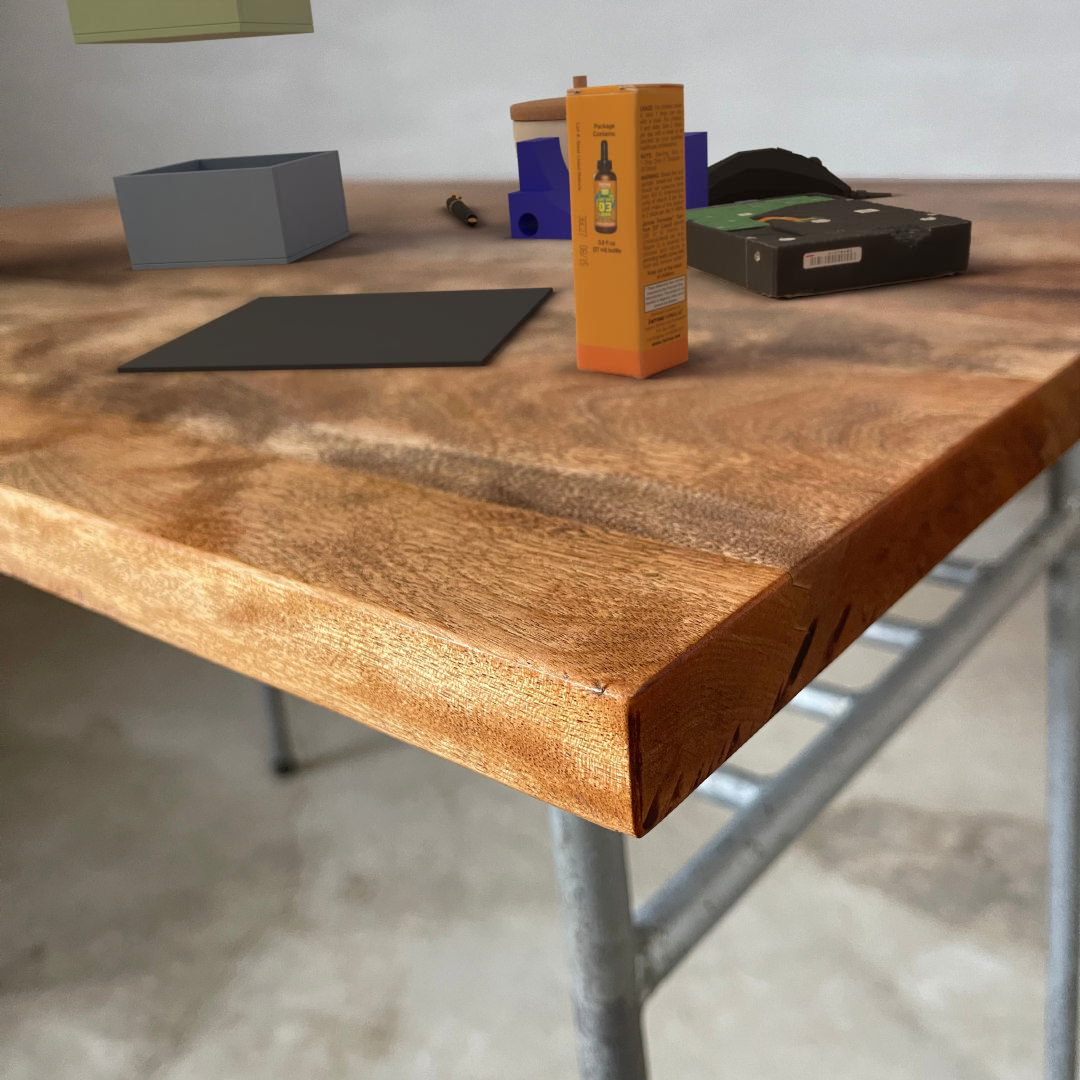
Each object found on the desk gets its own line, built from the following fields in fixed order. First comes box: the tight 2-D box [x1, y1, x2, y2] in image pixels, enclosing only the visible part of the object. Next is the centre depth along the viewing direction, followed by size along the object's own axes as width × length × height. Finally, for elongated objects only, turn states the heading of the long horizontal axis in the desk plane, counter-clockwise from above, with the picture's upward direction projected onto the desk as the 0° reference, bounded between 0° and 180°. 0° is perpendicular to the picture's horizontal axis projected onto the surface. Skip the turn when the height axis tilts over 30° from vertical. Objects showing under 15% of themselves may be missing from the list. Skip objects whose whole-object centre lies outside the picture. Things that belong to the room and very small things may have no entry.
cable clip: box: [507, 131, 709, 240], centre depth 71 cm, size 12×4×6 cm, turn 60°
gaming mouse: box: [708, 147, 893, 207], centre depth 78 cm, size 6×15×4 cm, turn 89°
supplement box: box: [565, 82, 689, 380], centre depth 40 cm, size 3×3×10 cm
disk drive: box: [686, 193, 973, 299], centre depth 57 cm, size 10×3×15 cm
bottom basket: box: [112, 149, 351, 271], centre depth 76 cm, size 11×11×6 cm
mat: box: [116, 287, 554, 374], centre depth 52 cm, size 16×14×1 cm
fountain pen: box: [445, 193, 479, 227], centre depth 84 cm, size 14×1×2 cm, turn 12°
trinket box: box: [509, 74, 588, 171], centre depth 84 cm, size 11×11×9 cm
